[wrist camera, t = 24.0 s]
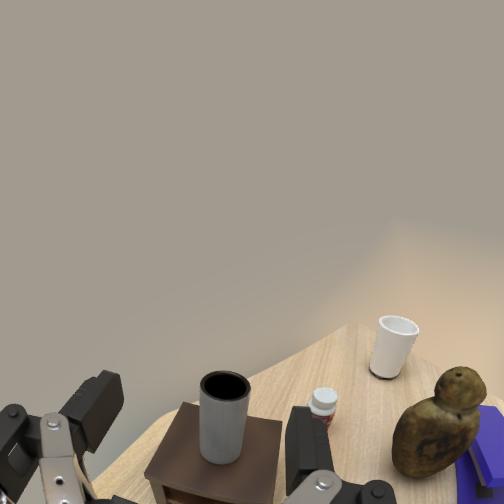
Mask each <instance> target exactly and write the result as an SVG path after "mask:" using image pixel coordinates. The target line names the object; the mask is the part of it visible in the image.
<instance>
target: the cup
mask: <svg viewBox="0 0 504 504" xmlns="http://www.w3.org/2000/svg"><path fill="white" fill-rule="evenodd" d="M418 333H419V327H418V326H417V325H416V324H415V323H414V322H412V321H410V320H407V319H405V318H402V317H398V316H384V317H381V318H380V319H379V324H378V329H377V334H376V338H375V343H374V348H373V352H372V357H371V361H370V366H369V370H370V371H372V372H373V373H374V374H375V375H376V377H377V378H388V379H393V378H394V377H396V376H397V375H398V374H399V372H400V370H401V368H402V366H403V364H404V362H405V360H406V358H407V356H408V354H409V352H410V350H411V348H412V346H413V344H414V342H415V340H416V338H417V336H418Z"/></svg>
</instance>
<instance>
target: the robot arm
mask: <svg viewBox="0 0 504 504" xmlns="http://www.w3.org/2000/svg"><path fill="white" fill-rule="evenodd" d="M123 403H124V396H123V391H122V384H121V379H120V375H119V374H117V373H113V372H110V371H107V370H103V371H102V372H101V373H100V374H99V376H98V377H97V378H96V377H91V378H90V379H88V380H86V381H84V383H83V384H82V385H81V386H80V388H79V389H78V390H77V391H76V392H75V394H73V396H72V397H71V398H70V399H69V401H68V402H67V403H66V404H65V405H64V406H63V408H62V409H61V410H60V411H59V412H58V413H49V414H46V415H44V416H43V417H37V416H32V415H28V414H27V412H26V410H25V409H24V407H23V406H21V405H18V404H10V405H8V406H6V407H5V408H4V409H3V410H2V411H1V412H0V504H16V503H17V501H18V500H19V498H20V496H21V494H22V492H23V491H24V489H25V487H26V486H27V484H28V482H29V480H30V479H31V477H32V475H33V474H34V472H35V471H36V469H37V467H38V465H39V466H40V473H41V479H42V485H43V491H44V496H45V501H46V504H138V503H135V502H132V501H129V500H127V499H124V498H121V497H118V496H116V495H113V497H112V499H111V500H110V499H98V498H97V496H96V494H95V492H94V490H93V487H92V484H91V481H90V477H89V474H88V470H87V466H86V463H85V459H84V456H83V455H84V453H85V451H88V452H91V453H93V454H94V453H95V451H96V450H97V448H98V446H99V445H100V443H101V441H102V440H103V438H104V437H105V435H106V433H107V431H108V430H109V428H110V426H111V425H112V423H113V421H114V420H115V418H116V417H117V415H118V413H119V412H120V410H121V409H122V406H123ZM16 443H17V445H16ZM15 445H16V446H15ZM14 446H15V448H14V449H13V447H14ZM12 449H13V451H12V452H11V450H12ZM10 452H11V453H10ZM9 453H10V455H9ZM8 455H9V456H8ZM285 462H286V496H289V497H288V498H287V499H285V500H284V501H283V502H282V503H281V504H397V503H396V498H395V494H394V490H393V488H392V486H391V485H390V484H389V483H387V482H385V481H382V480H372V481H369V482H367V483H366V484H365V485H359V484H353V483H349V482H346V481H343V480H342V479H340V477H339V476H338V475H337V474H336V473H335V471H334V467H333V461H332V456H331V450H330V444H329V439H328V433H327V428H326V425H325V424H324V423H323V421H322V420H321V419H320V418H312V415H311V409H310V407H303V406H293V407H292V410H291V414H290V417H289V421H288V424H287V427H286V433H285Z"/></svg>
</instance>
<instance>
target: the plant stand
mask: <svg viewBox="0 0 504 504" xmlns="http://www.w3.org/2000/svg"><path fill="white" fill-rule="evenodd" d="M282 423H283V422H282V421H277V420H270V419H263V418H257V417H251V416H247V417H246V423H245V430H244V436H243V442H242V448H241V453H240V456H239V457H238V459H237V460H235V461H234V462H232V463H229V464H224V465H220V464H214V463H211V462H209V461H207V460H206V459H205V458H204V457H203V456H202V455H201V452H200V406H198V405H194V404H190V403H186V402H183V403H182V405H181V407H180V409H179V411H178V412H177V414H176V416H175V418H174V420H173V422H172V423H171V425H170V427H169V429H168V431H167V432H166V434H165V436H164V438H163V440H162V442H161V443H160V445H159V447H158V449H157V451H156V452H155V454H154V456H153V458H152V460H151V461H150V463H149V465H148V467H147V469H146V470H145V472H144V476H145V479H148V480H149V481H150V484H151V488H152V491H153V494H154V497H155V500H156V502H157V504H272V503H273V496H274V489H275V481H276V474H277V466H278V458H279V450H280V441H281V432H282Z"/></svg>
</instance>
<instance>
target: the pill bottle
mask: <svg viewBox="0 0 504 504" xmlns="http://www.w3.org/2000/svg"><path fill="white" fill-rule="evenodd" d="M337 399H338V394H337V393H336V392H335V391H334V390H332V389H330V388H325V387H321V388H317V389H316V390H315V391H314V392H313V395H312V398H311V399H310V400H309V401H308V403H307V407H310V409H311V415H312V418H320V419H321V420H322V421H323V423H324V424H325V425H326V428H327V431H328V428H329V426H330V424H331V421H332V419H333V416H334V414H335V411H336V403H337Z"/></svg>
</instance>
